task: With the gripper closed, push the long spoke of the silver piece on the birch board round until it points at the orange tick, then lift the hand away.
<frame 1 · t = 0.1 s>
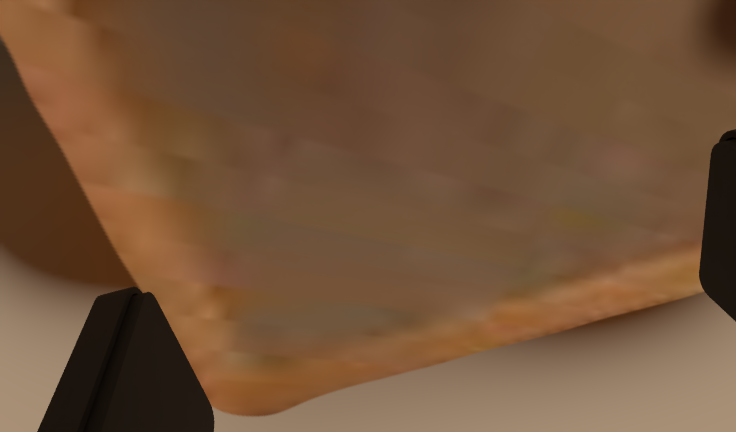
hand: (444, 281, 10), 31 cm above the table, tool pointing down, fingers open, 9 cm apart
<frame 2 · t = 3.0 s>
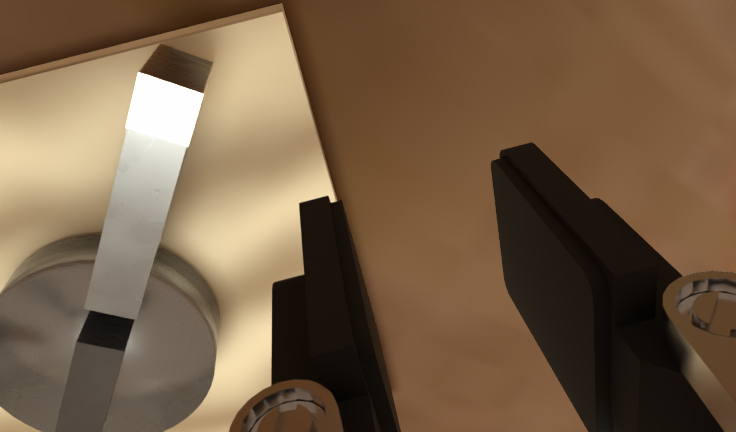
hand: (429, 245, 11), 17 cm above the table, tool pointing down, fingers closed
board: (125, 294, 30), on the table
silver piece: (122, 279, 24), point 5 cm above the table, hinge at 145.0°
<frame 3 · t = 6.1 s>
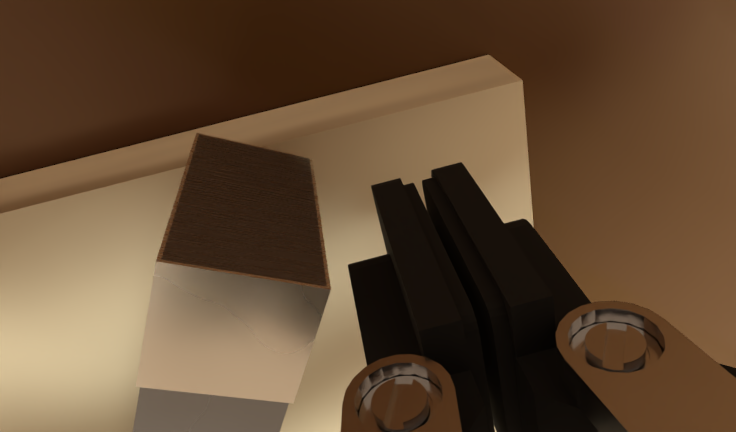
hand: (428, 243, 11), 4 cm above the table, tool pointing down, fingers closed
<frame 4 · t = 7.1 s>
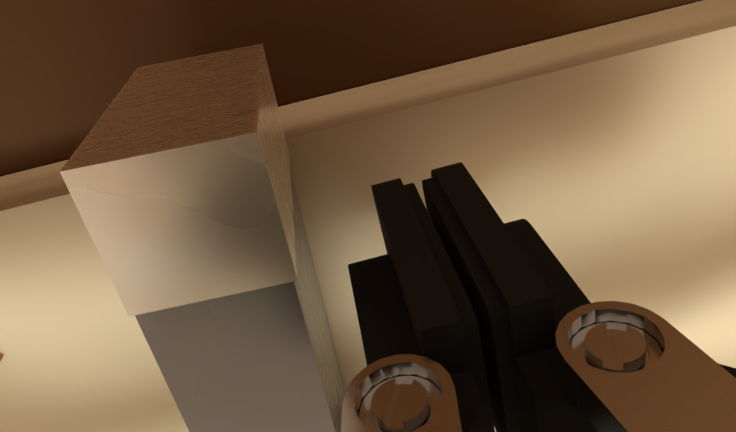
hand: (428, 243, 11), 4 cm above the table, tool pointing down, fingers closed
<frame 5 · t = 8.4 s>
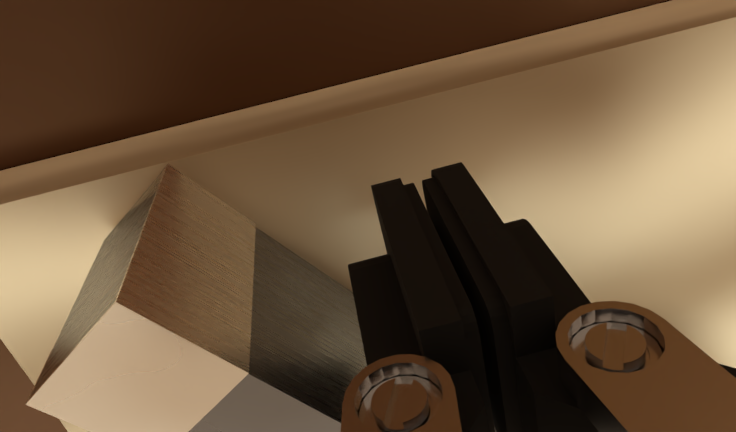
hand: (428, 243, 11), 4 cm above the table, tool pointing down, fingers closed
board: (530, 406, 19), on the table
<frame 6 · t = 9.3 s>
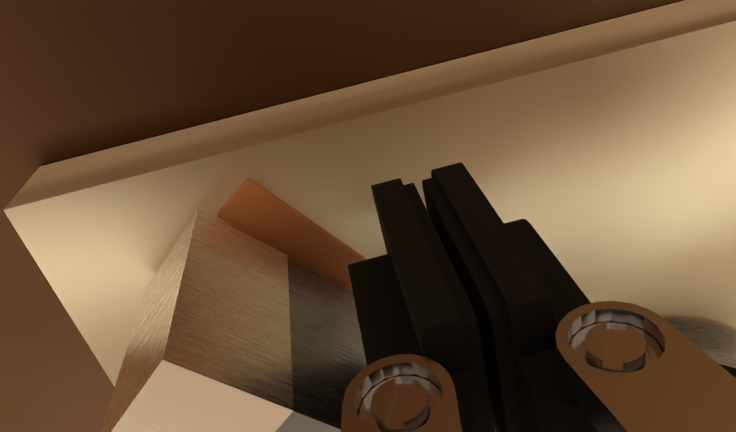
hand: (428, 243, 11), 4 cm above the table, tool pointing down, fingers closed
board: (580, 396, 19), on the table
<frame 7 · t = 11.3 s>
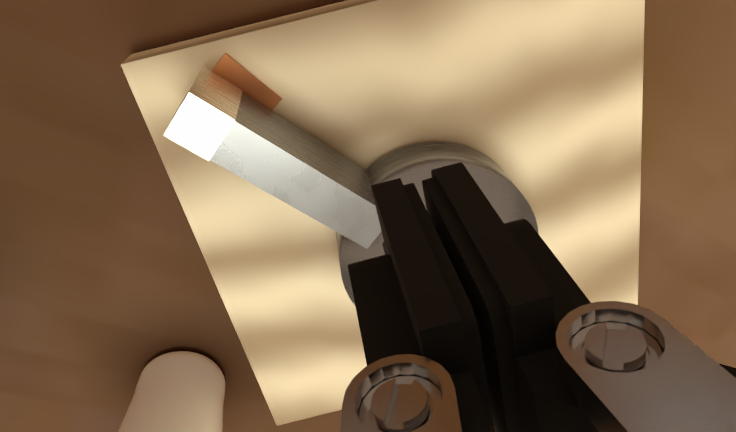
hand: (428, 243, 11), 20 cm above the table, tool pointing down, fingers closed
board: (419, 208, 33), on the table
silver piece: (366, 210, 27), point 5 cm above the table, hinge at 221.4°
drinking glass: (184, 375, 37), on the table
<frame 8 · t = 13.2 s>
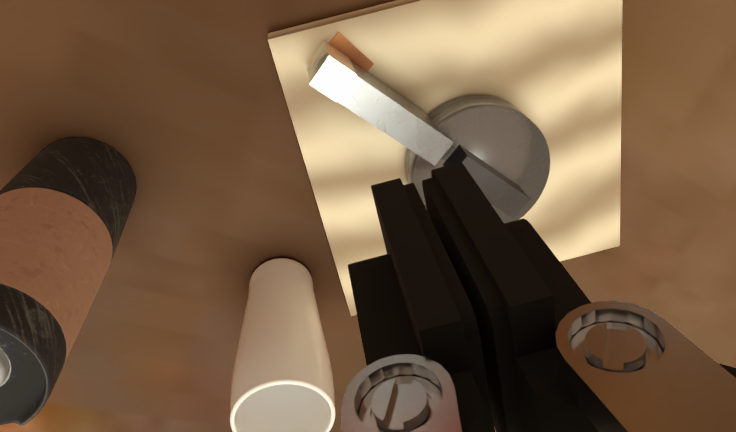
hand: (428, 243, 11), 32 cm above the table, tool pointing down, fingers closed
board: (461, 147, 46), on the table
travel mug: (86, 180, 43), on the table
silver piece: (432, 140, 40), point 5 cm above the table, hinge at 221.4°
drinking glass: (281, 279, 50), on the table
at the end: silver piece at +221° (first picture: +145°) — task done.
